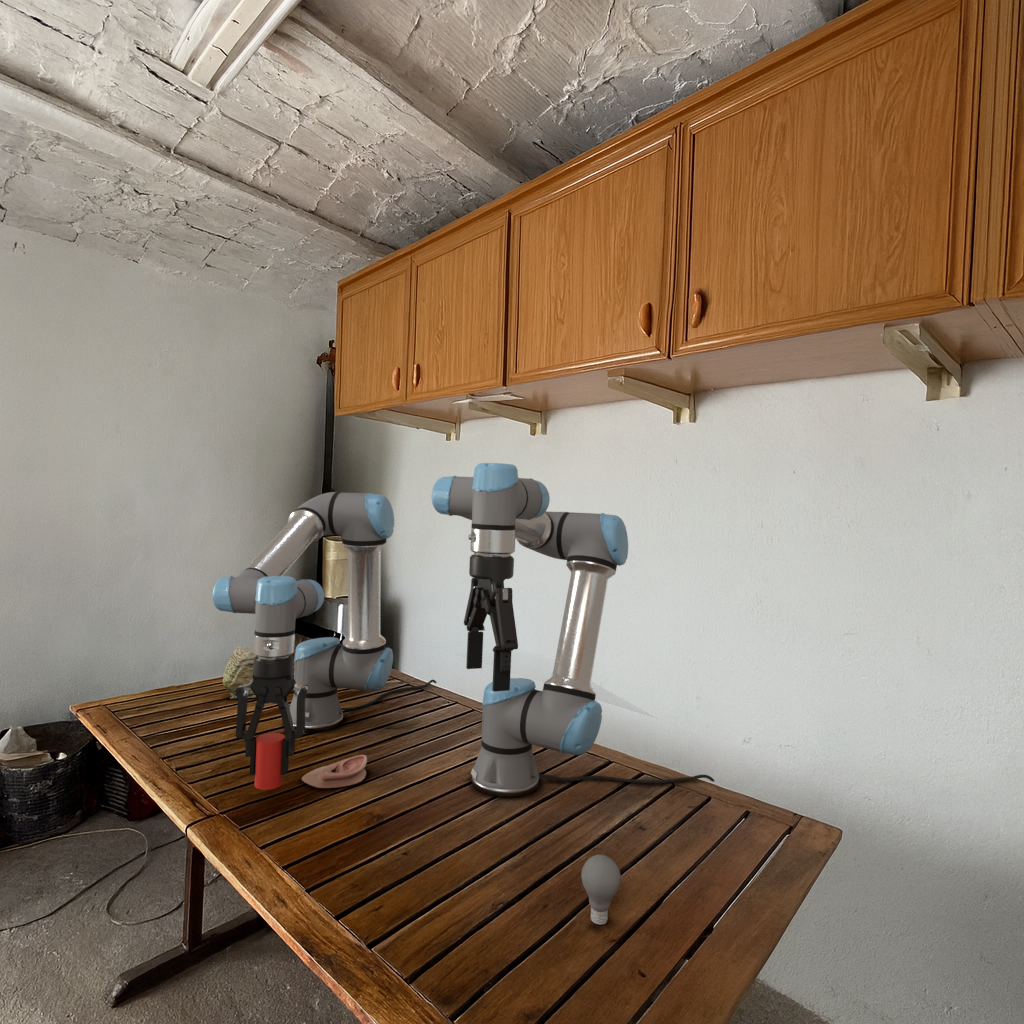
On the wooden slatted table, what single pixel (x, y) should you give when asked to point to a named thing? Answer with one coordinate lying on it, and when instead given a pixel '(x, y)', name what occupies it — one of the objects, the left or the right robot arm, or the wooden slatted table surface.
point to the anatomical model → (338, 773)
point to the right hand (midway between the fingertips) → (486, 678)
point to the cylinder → (269, 761)
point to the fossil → (239, 670)
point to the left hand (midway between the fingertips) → (269, 772)
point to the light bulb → (600, 885)
